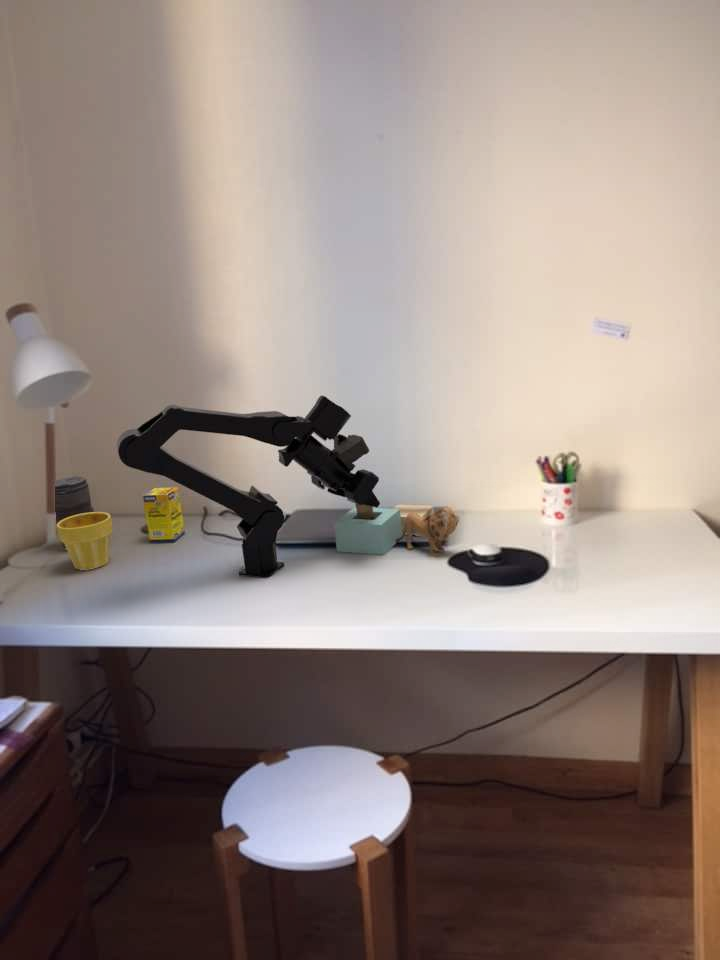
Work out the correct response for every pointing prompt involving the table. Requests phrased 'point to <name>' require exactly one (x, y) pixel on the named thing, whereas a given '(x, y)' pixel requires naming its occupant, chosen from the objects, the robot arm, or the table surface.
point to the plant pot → (87, 538)
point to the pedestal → (418, 509)
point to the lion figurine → (431, 528)
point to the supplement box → (163, 515)
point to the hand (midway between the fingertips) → (372, 502)
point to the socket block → (368, 531)
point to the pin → (365, 512)
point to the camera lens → (71, 498)
